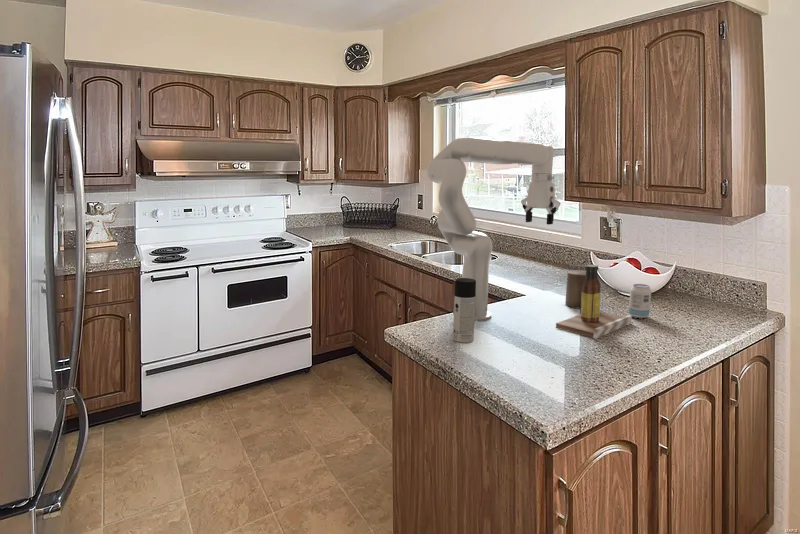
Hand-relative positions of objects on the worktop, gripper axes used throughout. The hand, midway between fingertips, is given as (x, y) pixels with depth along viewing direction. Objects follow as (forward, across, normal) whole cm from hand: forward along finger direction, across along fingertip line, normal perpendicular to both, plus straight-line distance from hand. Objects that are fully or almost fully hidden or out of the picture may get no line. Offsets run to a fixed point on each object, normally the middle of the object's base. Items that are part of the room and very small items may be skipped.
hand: (539, 223), depth 194 cm
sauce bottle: (+32, -27, +5) cm, 42 cm away
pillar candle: (+34, -11, -13) cm, 38 cm away
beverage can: (+33, -34, -17) cm, 51 cm away
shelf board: (+33, -28, +5) cm, 44 cm away
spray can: (+34, -10, +52) cm, 62 cm away
